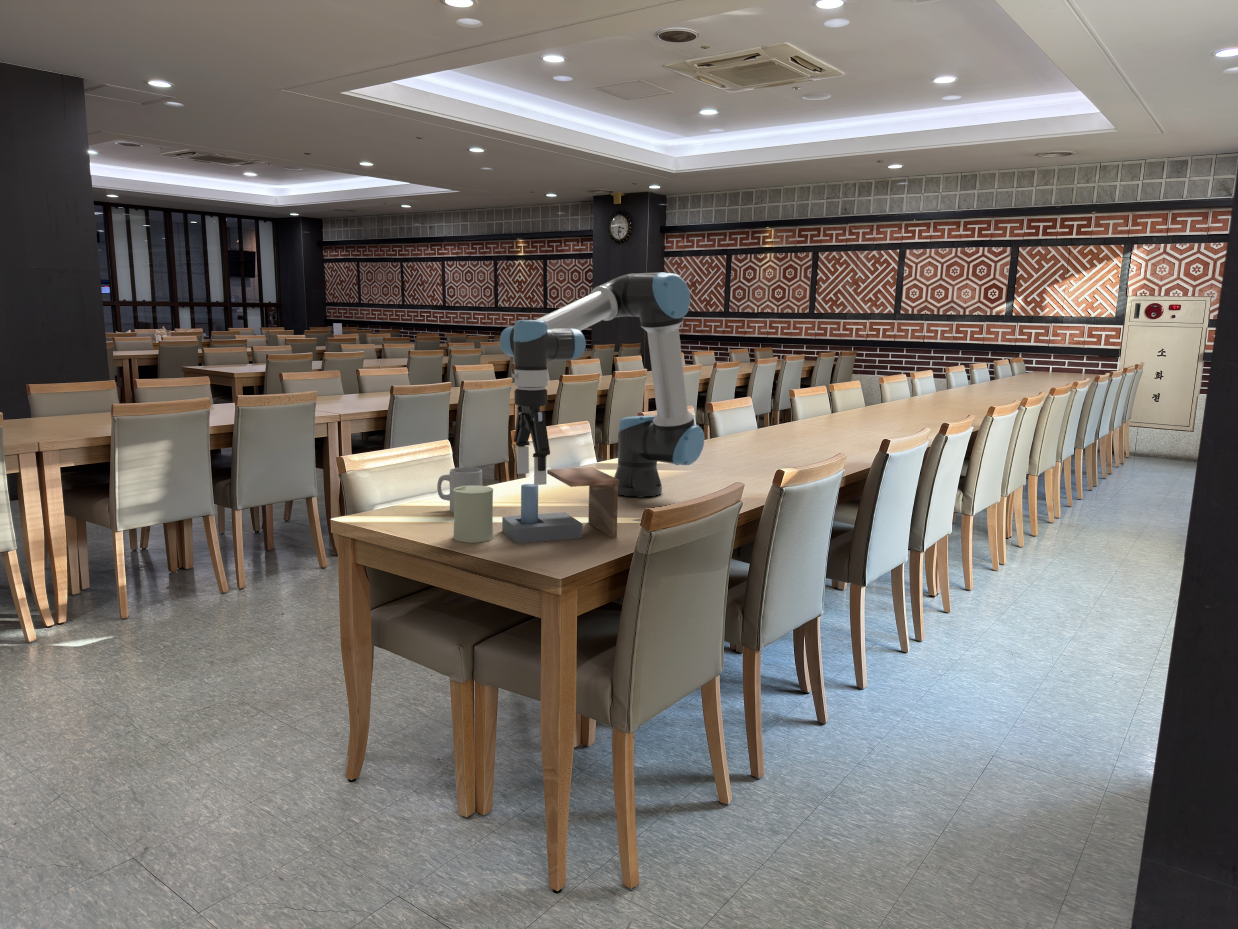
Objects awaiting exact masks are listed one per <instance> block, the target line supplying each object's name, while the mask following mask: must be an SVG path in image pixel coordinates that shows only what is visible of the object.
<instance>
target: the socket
mask: <svg viewBox="0 0 1238 929" xmlns="http://www.w3.org/2000/svg"><path fill="white" fill-rule="evenodd" d="M501 519H502V523H501V526H502V527H501V529H502V532H503V533H504V534H505V535H506V536H508V538H510V540H512V541H513V542H514V543H515V544H525V543H526V544H527V543H537V542H538V543H539V542H550V541H563V540H572V539H583V523H582V522H581V521H579V520H578V519H576V518H575V517H573V516H572V515H570V514H569V513H567V512H565V511H564V512H552V513H551V512H550V513H538V523H536V524H523V525H522V524H521V514H518V515H506V516H502V518H501Z"/></svg>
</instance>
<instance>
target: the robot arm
mask: <svg viewBox="0 0 1238 929" xmlns="http://www.w3.org/2000/svg"><path fill="white" fill-rule="evenodd" d="M690 305H691V294H690V290H689V287H688V284H687V283H686V281H685V279H683V278H682V277H681V276H680V275H679V274H678V273H677V274H676V273H671V272H669V273H668V272H664V271H663V272H642V273H641V272H640V273H636V272H635V273H634V272H633V273H632V272H631V273H627V274H624V275H620V276H618V277H615V278H613V279H610V280H608V281H607V282H604V283H601V284H600V285H597V286H595V287H594V288H593V289H592V290H591V292H590V293H589V294H588V295H586V296H583V297H582V298H580V299H577V300H575V301H573V302H571V303H569V304H567V305H564V306H562V307H560V308H558V309H556V310H554V311H551V312H550V313H547V314H546V315H543V316H542V317H538V318H537V319H518V320H516V321H515V323H514V325H513V326H508V327H505V329H503V330H502V332H501V334H500V337H499V346H500V349H501V351H502V352H503V354H505V355H506V356H507V357H512V358H513V359H514V360H513V361H514V363H513V364H514V365H513V366H514V373H513V374H511V376H512V378H513V379H514V386H515V387H516V388H515V390H514V392H513V393H514V405H516V406H517V408H516V409H517V417H516V422H515V430H514V436H513V442H514V443H515V445H516V473H517V474H518V475H521V474H523V475H524V474H529V473H530V469H529V468H530V463H529V461H530V457H529V456H530V455H529V454H530V448H529V446H531V445H530V444H531V443H530V441H529V439H530V437H531V440H532V445H533V449H534V452H533V454H532V458H533V484H534V485H538V486H542V485H547V484H548V483H547V481H548V480H547V477H548V476H547V457H548V456H550V455H551V449H550V443H549V437H548V430H547V424H546V423H547V422H546V412H545V411H541V407H545V406H547V404H548V390H547V389H546V387H547V386H548V385H549V384H548V380H549V379H548V377H549V376H548V362H553V361H554V362H555V361H572V360H577V359H579V358H581V357H582V356H583V355H584V352H585V351H586V345H587V344H586V338H585V335H584V334H583V332H582V331H583V330H585V329H587V328H589V327H592V326H593V325H595V324H598V323H599V322H601V321H604V322H605V321H606V322H607V321H612V320H613V319H615V318H620V317H621V318H623V317H632V318H633V317H635V318H639V322H640V327H641V328H642V329H643V330H644V331H646V332H647V340H648V348H649V356H650V365H651V373H652V382H653V389H654V390H653V391H654V398H655V406H656V415H654V414H653V415H651V414H650V415H635V416H626V417H622V418H620V420H619V424H618V431H617V434H618V435H617V437H618V441H617V442H618V443H617V444H618V445H617V446H618V447H617V450H618V451H617V468H616V471H615V474H614V476H613V477H614V478H616V479H618V480H619V484H618V494H619V495H618V496H620V495H624V496H623V497H626V496H653V497H656V496H655V495H658V496H660V495H661V493H662V492H663V486H662V482H661V479H660V475H659V470H658V462H660V463H667V464H671V465H675V466H690V465H693V464H694V463H695V462H697V460H698V459H699V457H700V456H701V455H702V454H701V453H702V452H703V449H704V446H705V433H704V430H703V429H702V427H701V426H699V425H697V424H695V418H694V417H695V416H694V414H693V413H692V412H690V411H689V410H688V402H687V393H686V385H685V375H684V374H685V373H684V367H683V366H684V365H683V357H682V346H681V338H680V331H679V330H680V326H681V325H682V324H683V323H684V317H685V316H687V314H688V312H689V309H690V307H689V306H690ZM659 494H660V495H659ZM662 494H663V493H662Z"/></svg>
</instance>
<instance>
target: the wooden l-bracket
mask: <svg viewBox="0 0 1238 929" xmlns="http://www.w3.org/2000/svg"><path fill="white" fill-rule="evenodd" d="M546 474H548V476H551V477H552V478H554V479H556V480H558V481H560V482H562V483H564V484H565V485H566V486H569V487H570V488H572V487H573V488H574V487H575V488H576V487H588V523H590V524H591V525H592V526H594V527H595V528H597V529H598V530H600V532H603V533H604V534H606V535H608V536H609V537H611V538H612V539H614V538H617V536H618V535H617V534H618V507H619V506H618V504H619V502H618V501H619V500H618V499H619V495H618V484H619V480H618V479H616V478H614V476H612V475H609V474H608V473H606V472H603V471H602V470H598V469H597V468H595V467H573V468H553V469H552V468H551V469H546Z"/></svg>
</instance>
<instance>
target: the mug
mask: <svg viewBox="0 0 1238 929" xmlns="http://www.w3.org/2000/svg"><path fill="white" fill-rule="evenodd" d="M444 481H447V482H449V493H448V494H447V493H446V494H445V493H444V492H443V490H442V484H443V482H444ZM436 485H437V487H436V489H437V495H438V496H439V498H440V499H441V500H444V501H448V502H449V511H450V513H452V514H454V493H453V489H454V488H456V487H460V486H468V485H480V486H483V470H482V469H481V468H479V467H471V466H469V467H468V466H465V467H464V466H463V467H462V466H461V467H454V468H451V469H450V470H449V473H447V474H442V475H441V476H440V477H438V480H437V484H436Z"/></svg>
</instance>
